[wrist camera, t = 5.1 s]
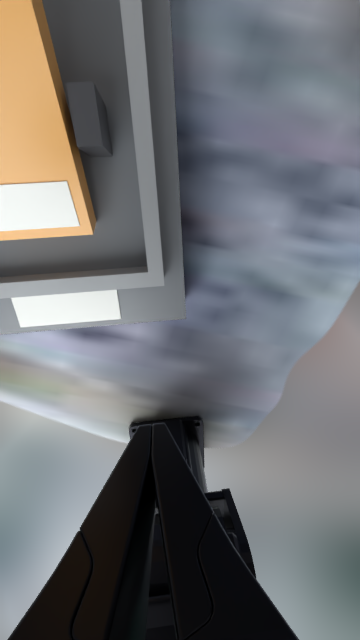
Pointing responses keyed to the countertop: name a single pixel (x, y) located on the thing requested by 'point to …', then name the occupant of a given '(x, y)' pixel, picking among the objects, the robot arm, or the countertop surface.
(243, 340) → the countertop surface
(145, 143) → the switch panel
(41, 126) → the plate
